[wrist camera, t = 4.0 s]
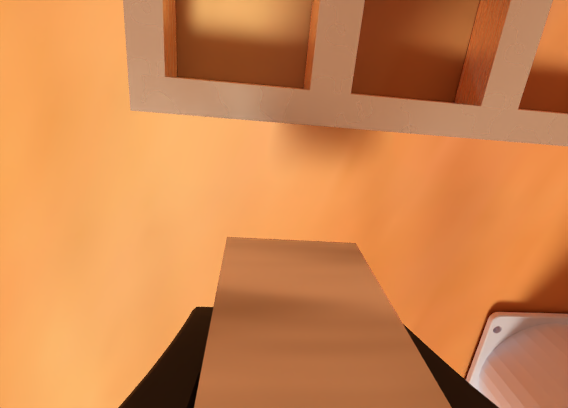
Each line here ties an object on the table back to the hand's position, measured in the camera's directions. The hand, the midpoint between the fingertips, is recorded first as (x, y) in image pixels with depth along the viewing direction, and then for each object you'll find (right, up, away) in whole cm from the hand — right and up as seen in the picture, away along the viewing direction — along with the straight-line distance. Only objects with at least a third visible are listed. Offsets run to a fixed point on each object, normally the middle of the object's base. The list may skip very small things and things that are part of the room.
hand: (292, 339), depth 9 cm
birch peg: (0, +1, +2) cm, 2 cm away
